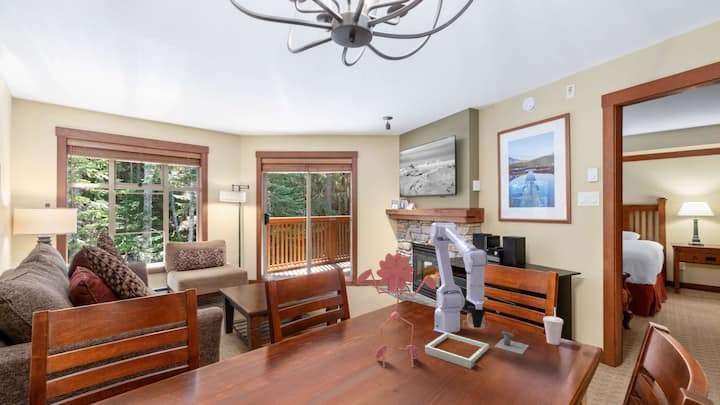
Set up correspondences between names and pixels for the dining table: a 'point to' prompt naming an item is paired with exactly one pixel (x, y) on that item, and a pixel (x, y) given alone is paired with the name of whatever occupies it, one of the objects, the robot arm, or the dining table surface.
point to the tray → (453, 357)
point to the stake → (511, 344)
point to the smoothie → (553, 328)
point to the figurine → (395, 276)
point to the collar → (470, 322)
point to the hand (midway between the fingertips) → (475, 323)
